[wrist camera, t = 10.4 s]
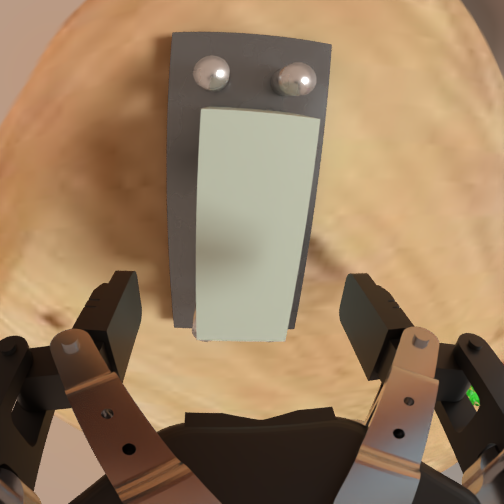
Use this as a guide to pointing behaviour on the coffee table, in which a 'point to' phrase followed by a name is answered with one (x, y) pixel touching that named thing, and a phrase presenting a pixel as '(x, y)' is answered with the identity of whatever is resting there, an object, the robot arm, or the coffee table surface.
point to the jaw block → (250, 220)
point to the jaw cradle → (237, 96)
